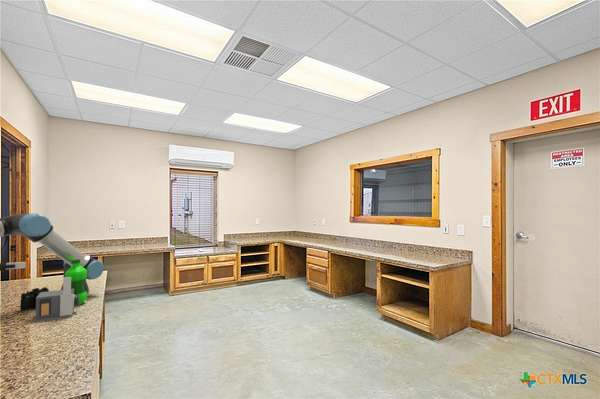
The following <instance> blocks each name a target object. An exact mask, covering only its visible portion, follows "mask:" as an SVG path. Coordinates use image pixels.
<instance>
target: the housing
mask: <svg viewBox="0 0 600 399" xmlns="http://www.w3.org/2000/svg"><path fill="white" fill-rule="evenodd" d="M71 294H73V311H74V309H75V307H76V306H79V295H77V296H75V294H74V289H71ZM61 295H63V290H61V289H59V290H49V291H48V292H40V294H39V295H38V296H37V298H36V308H35V323H36V322H37V323H39V322H45V321H50V320H57V319H63V318H65V319H66V318H71V317H72V316H73V314H72V315H65V316H60V296H61Z"/></svg>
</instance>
